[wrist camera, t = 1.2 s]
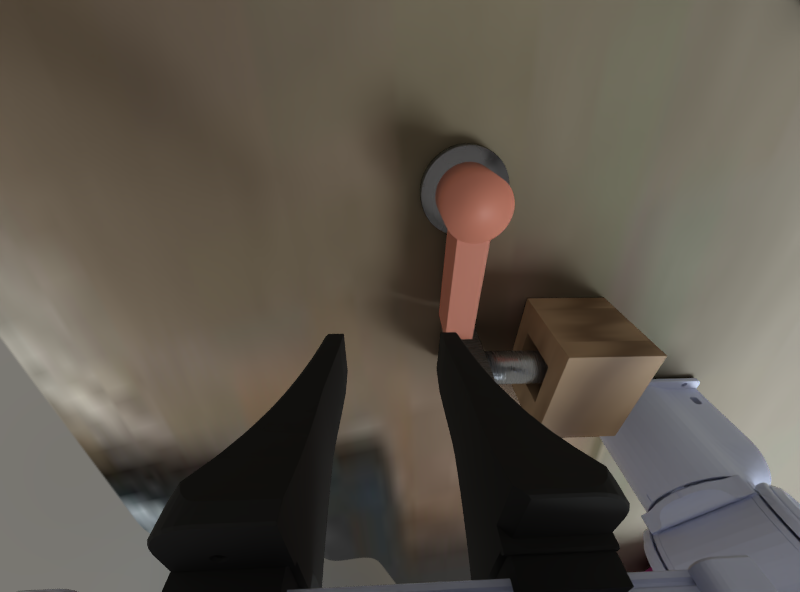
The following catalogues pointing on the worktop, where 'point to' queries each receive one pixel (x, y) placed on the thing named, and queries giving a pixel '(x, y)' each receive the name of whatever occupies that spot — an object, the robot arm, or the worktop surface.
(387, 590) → the robot arm
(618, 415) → the eye block
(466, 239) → the latch lever
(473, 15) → the worktop surface
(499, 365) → the bolt
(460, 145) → the lever base
